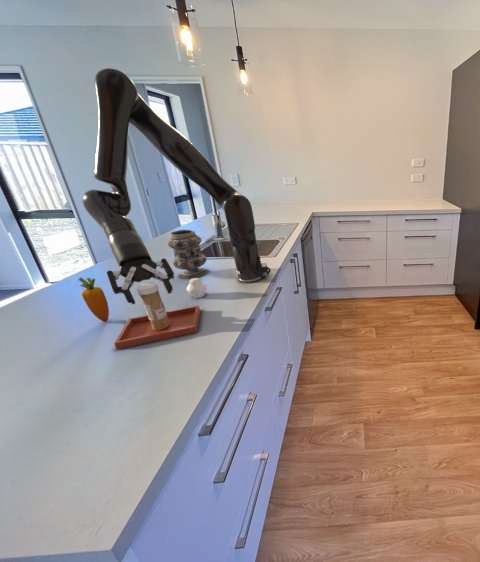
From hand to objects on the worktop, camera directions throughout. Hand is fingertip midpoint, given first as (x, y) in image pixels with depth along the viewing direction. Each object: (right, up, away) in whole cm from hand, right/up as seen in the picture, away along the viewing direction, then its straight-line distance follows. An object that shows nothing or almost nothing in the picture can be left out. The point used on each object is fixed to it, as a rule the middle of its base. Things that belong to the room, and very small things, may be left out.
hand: (152, 297), depth 83 cm
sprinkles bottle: (-1, -9, +5) cm, 10 cm away
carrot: (-21, -8, +9) cm, 24 cm away
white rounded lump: (-1, -1, +24) cm, 24 cm away
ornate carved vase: (-15, +7, +43) cm, 46 cm away
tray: (-1, -9, +5) cm, 11 cm away
